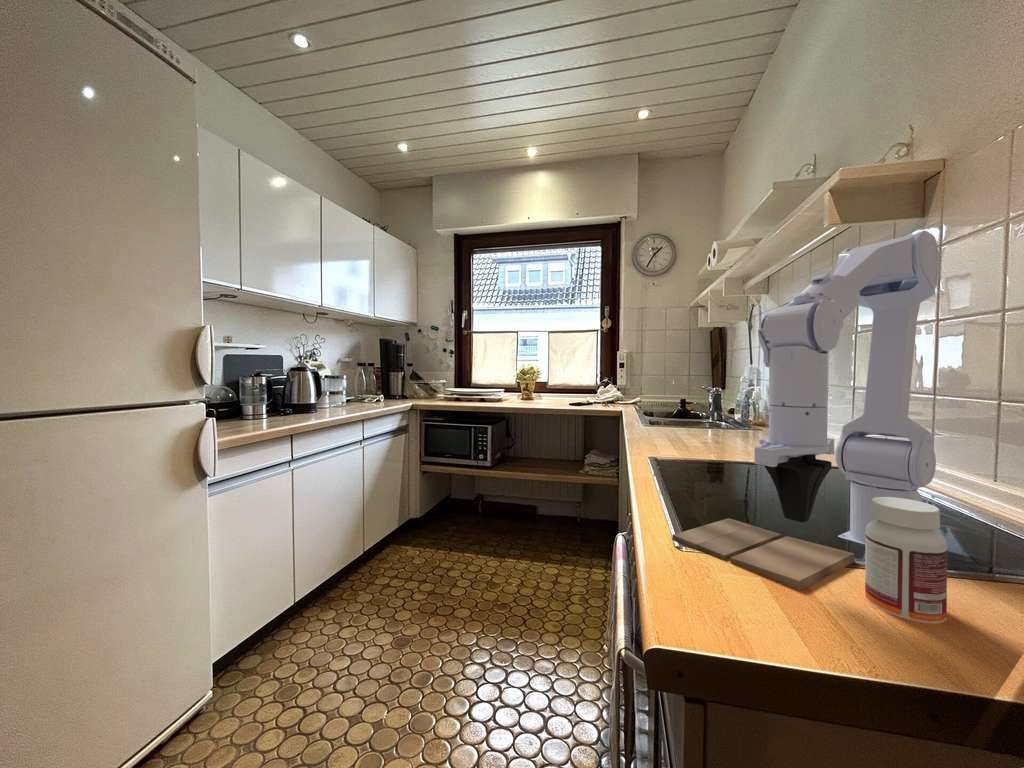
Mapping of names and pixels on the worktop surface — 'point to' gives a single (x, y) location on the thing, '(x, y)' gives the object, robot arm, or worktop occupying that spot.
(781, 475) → the robot arm
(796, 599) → the worktop surface
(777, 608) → the worktop surface
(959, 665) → the worktop surface
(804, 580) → the plank
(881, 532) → the pill bottle
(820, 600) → the worktop surface
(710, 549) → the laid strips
